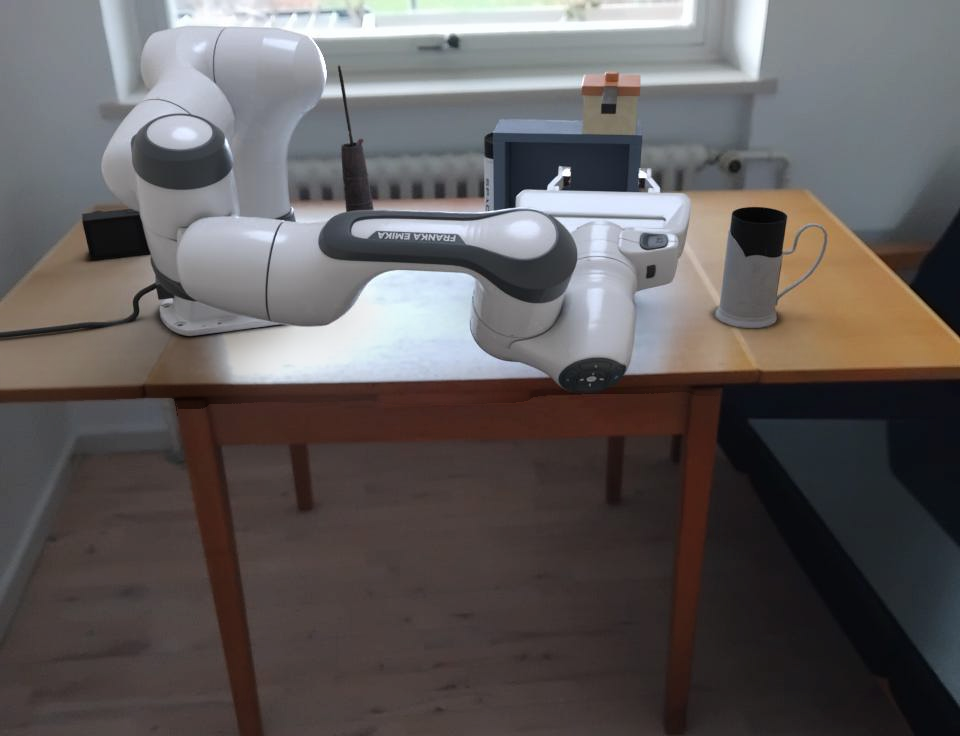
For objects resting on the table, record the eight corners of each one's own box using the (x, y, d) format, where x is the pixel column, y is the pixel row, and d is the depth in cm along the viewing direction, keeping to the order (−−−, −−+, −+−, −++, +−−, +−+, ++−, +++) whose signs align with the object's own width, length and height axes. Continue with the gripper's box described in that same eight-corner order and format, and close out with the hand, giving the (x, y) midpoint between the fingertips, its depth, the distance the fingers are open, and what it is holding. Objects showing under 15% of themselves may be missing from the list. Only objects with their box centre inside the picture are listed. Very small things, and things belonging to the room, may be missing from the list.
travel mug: (523, 248, 175) (524, 128, 165) (520, 262, 170) (521, 138, 159) (487, 248, 176) (485, 128, 165) (483, 261, 170) (481, 138, 160)
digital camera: (152, 243, 180) (145, 204, 177) (154, 253, 176) (146, 213, 172) (90, 250, 178) (81, 211, 174) (91, 261, 173) (81, 220, 169)
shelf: (630, 317, 149) (642, 135, 136) (494, 312, 152) (493, 132, 138) (630, 297, 156) (642, 121, 142) (500, 292, 158) (499, 118, 145)
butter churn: (369, 214, 193) (357, 55, 178) (400, 225, 187) (391, 62, 172) (329, 224, 188) (313, 62, 173) (360, 236, 182) (347, 70, 167)
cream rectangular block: (635, 135, 136) (637, 95, 133) (582, 134, 137) (583, 94, 134) (635, 122, 142) (637, 84, 139) (584, 122, 142) (586, 84, 140)
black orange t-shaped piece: (639, 114, 124) (641, 95, 123) (577, 113, 125) (577, 94, 124) (639, 84, 139) (641, 67, 138) (583, 83, 140) (584, 66, 139)
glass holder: (711, 304, 153) (722, 205, 145) (806, 304, 153) (823, 205, 145) (720, 328, 146) (733, 225, 138) (821, 328, 145) (839, 224, 137)
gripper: (508, 277, 119) (518, 188, 126) (686, 283, 117) (687, 192, 123) (505, 240, 114) (516, 149, 120) (692, 245, 111) (693, 152, 118)
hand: (604, 171), depth 122 cm, fingers open, 8 cm apart
